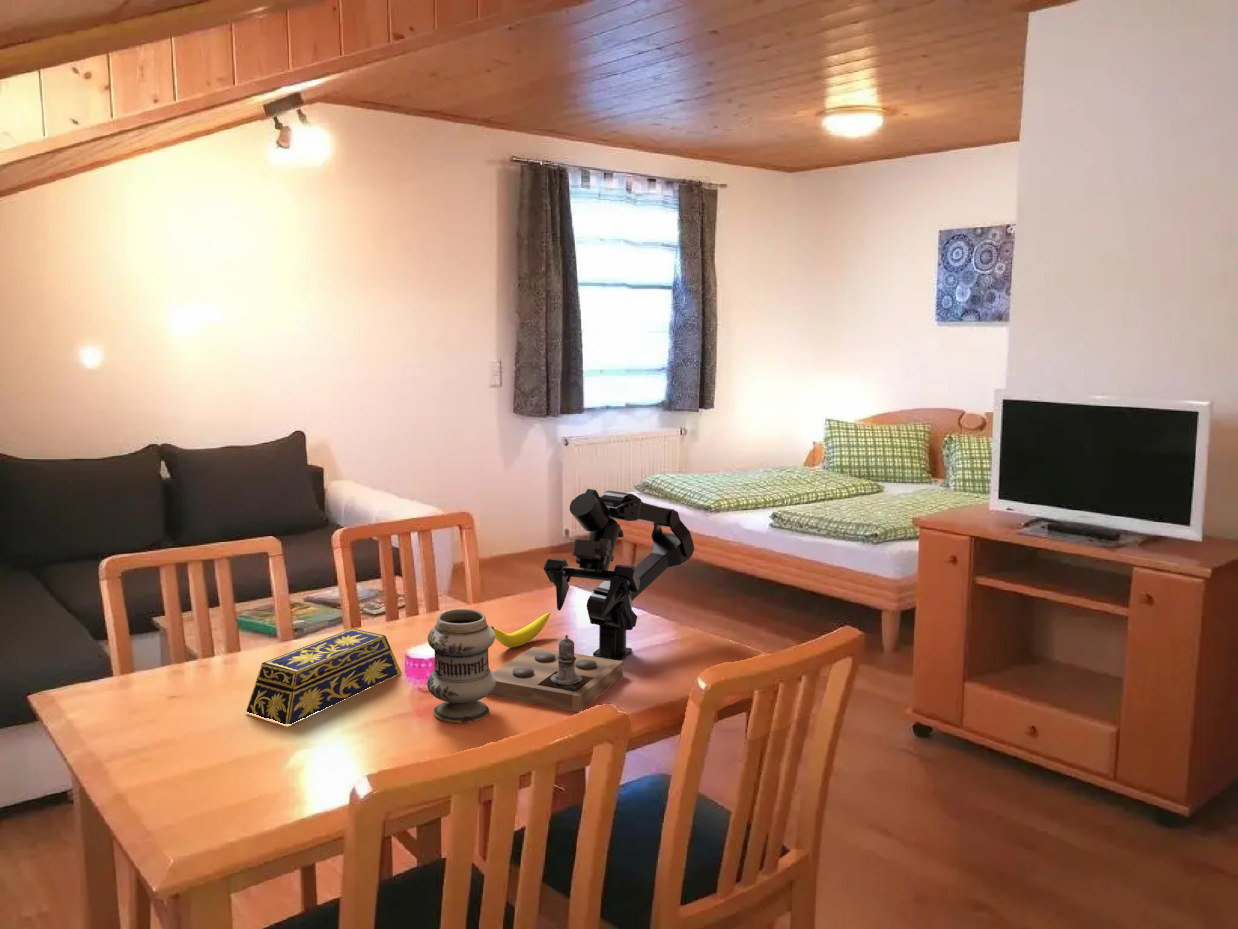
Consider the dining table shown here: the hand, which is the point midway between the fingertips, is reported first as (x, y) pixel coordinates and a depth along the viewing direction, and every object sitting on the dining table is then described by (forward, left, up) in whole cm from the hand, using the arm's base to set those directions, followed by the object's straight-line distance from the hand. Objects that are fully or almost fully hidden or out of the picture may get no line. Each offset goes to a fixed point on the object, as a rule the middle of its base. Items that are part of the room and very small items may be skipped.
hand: (580, 612), depth 192 cm
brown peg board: (+5, -3, -14) cm, 15 cm away
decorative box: (+26, -40, -14) cm, 50 cm away
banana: (-13, -20, -14) cm, 28 cm away
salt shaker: (+9, +1, -14) cm, 16 cm away
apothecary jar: (+24, -12, -14) cm, 30 cm away
